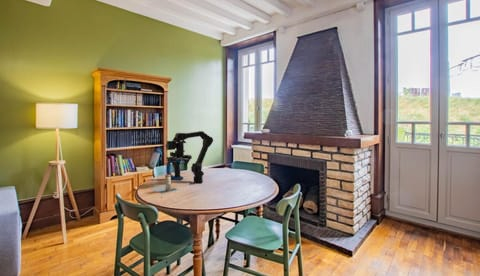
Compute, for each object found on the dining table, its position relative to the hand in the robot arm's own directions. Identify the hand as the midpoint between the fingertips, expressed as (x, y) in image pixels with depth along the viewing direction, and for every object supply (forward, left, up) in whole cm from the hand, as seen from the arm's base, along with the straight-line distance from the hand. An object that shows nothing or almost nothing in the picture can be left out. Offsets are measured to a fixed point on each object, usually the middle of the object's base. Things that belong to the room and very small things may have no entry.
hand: (180, 169), depth 204 cm
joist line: (+3, +20, -11) cm, 23 cm away
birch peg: (+3, +20, -11) cm, 23 cm away
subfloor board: (+8, +16, -13) cm, 22 cm away
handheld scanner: (+9, -18, -13) cm, 24 cm away
